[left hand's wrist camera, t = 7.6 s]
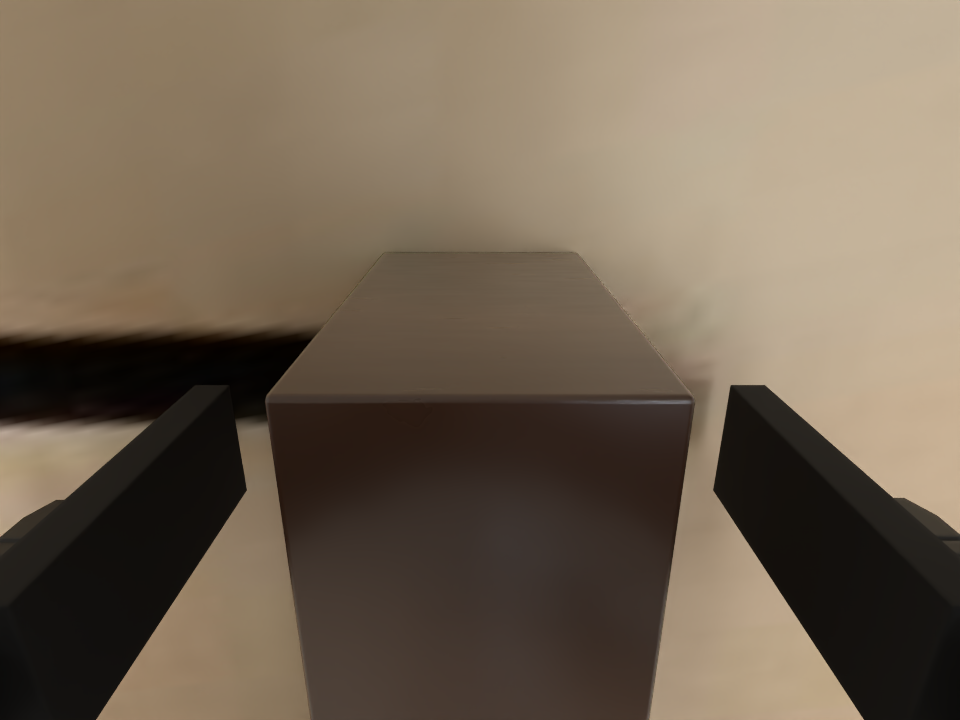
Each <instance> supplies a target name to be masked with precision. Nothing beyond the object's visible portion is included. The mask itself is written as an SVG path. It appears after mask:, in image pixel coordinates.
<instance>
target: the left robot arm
mask: <svg viewBox="0 0 960 720" xmlns="http://www.w3.org/2000/svg"><path fill="white" fill-rule="evenodd" d="M246 491H247V489H246V483H245V477H244V471H243V465H242V459H241V453H240V447H239V441H238V435H237V429H236V423H235V417H234V411H233V404H232V398H231V392H230V386H229V385H195V386H194V387H193V388H192V389H190V390H189V391H188V392H187V393H186V394H185V395H184V396H182V397H181V398H180V399H179V400H178V401H177V402H176V403H174V404H173V405H172V406H171V407H170V408H169V409H168V410H166V411H165V412H164V413H163V414H162V415H161V416H160V417H159V418H157V419H156V420H155V421H154V422H153V423H152V424H151V425H149V426H148V427H147V428H146V429H145V430H144V431H143V432H141V433H140V434H139V435H138V436H137V437H136V438H135V439H133V440H132V441H131V442H130V443H129V444H128V445H127V446H126V447H124V448H123V449H122V450H121V451H120V452H119V453H118V454H116V455H115V456H114V457H113V458H112V459H111V460H110V461H108V462H107V463H106V464H105V465H104V466H103V467H102V468H100V469H99V470H98V471H97V472H96V473H95V474H94V475H93V476H91V477H90V478H89V479H88V480H87V481H86V482H85V483H83V484H82V485H81V486H80V487H79V488H78V489H77V490H75V491H74V492H73V493H72V494H71V495H70V496H69V497H67V498H66V499H65V500H55V501H54V502H52V503H50V504H48V505H46V506H44V507H43V508H41V509H39V510H37V511H35V512H33V513H31V514H30V515H28V516H26V517H24V518H23V519H21V520H20V521H19V522H18V523H17V524H15V525H14V526H13V527H12V528H11V529H9V530H8V531H7V532H6V533H5V534H3V535H2V536H1V537H0V720H96V719H97V717H98V716H99V714H100V713H101V711H102V710H103V708H104V707H105V705H106V704H107V702H108V701H109V699H110V698H111V696H112V695H113V693H114V691H115V690H116V688H117V687H118V685H119V684H120V682H121V681H122V679H123V678H124V676H125V675H126V673H127V672H128V670H129V669H130V667H131V666H132V664H133V663H134V661H135V660H136V658H137V656H138V655H139V653H140V652H141V650H142V649H143V647H144V646H145V644H146V643H147V641H148V640H149V638H150V637H151V635H152V634H153V632H154V631H155V629H156V628H157V626H158V624H159V623H160V621H161V620H162V618H163V617H164V615H165V614H166V612H167V611H168V609H169V608H170V606H171V605H172V603H173V602H174V600H175V599H176V597H177V596H178V594H179V593H180V591H181V589H182V588H183V586H184V585H185V583H186V582H187V580H188V579H189V577H190V576H191V574H192V573H193V571H194V570H195V568H196V567H197V565H198V564H199V562H200V561H201V559H202V558H203V556H204V554H205V553H206V551H207V550H208V548H209V547H210V545H211V544H212V542H213V541H214V539H215V538H216V536H217V535H218V533H219V532H220V530H221V529H222V527H223V526H224V524H225V523H226V521H227V519H228V518H229V516H230V515H231V513H232V512H233V510H234V509H235V507H236V506H237V504H238V503H239V501H240V500H241V498H242V497H243V495H244V494H245V492H246ZM713 491H714V492H715V494H716V495H717V497H718V498H719V500H720V501H721V503H722V504H723V506H724V507H725V509H726V510H727V512H728V513H729V515H730V516H731V518H732V519H733V521H734V522H735V524H736V526H737V527H738V529H739V530H740V532H741V533H742V535H743V536H744V538H745V539H746V541H747V542H748V544H749V545H750V547H751V548H752V550H753V551H754V553H755V554H756V556H757V557H758V559H759V561H760V562H761V564H762V565H763V567H764V568H765V570H766V571H767V573H768V574H769V576H770V577H771V579H772V580H773V582H774V583H775V585H776V586H777V588H778V589H779V591H780V593H781V594H782V596H783V597H784V599H785V600H786V602H787V603H788V605H789V606H790V608H791V609H792V611H793V612H794V614H795V615H796V617H797V618H798V620H799V621H800V623H801V624H802V626H803V628H804V629H805V631H806V632H807V634H808V635H809V637H810V638H811V640H812V641H813V643H814V644H815V646H816V647H817V649H818V650H819V652H820V653H821V655H822V656H823V658H824V659H825V661H826V663H827V664H828V666H829V667H830V669H831V670H832V672H833V673H834V675H835V676H836V678H837V679H838V681H839V682H840V684H841V685H842V687H843V688H844V690H845V691H846V693H847V694H848V696H849V698H850V699H851V701H852V702H853V704H854V705H855V707H856V708H857V710H858V711H859V713H860V714H861V716H862V717H863V719H864V720H960V534H959V533H957V532H956V531H955V530H954V529H953V528H951V527H950V526H949V525H948V524H947V523H945V522H944V521H943V520H942V519H941V518H939V517H938V516H937V515H935V514H933V513H931V512H929V511H927V510H926V509H924V508H922V507H920V506H918V505H916V504H914V503H913V502H911V501H909V500H907V499H905V498H893V497H891V496H890V495H889V494H888V493H887V492H886V491H885V490H883V489H882V488H881V487H880V486H879V485H878V484H877V483H875V482H874V481H873V480H872V479H871V478H870V477H869V476H868V475H866V474H865V473H864V472H863V471H862V470H861V469H860V468H858V467H857V466H856V465H855V464H854V463H853V462H852V461H850V460H849V459H848V458H847V457H846V456H845V455H844V454H842V453H841V452H840V451H839V450H838V449H837V448H836V447H834V446H833V445H832V444H831V443H830V442H829V441H828V440H827V439H825V438H824V437H823V436H822V435H821V434H820V433H819V432H817V431H816V430H815V429H814V428H813V427H812V426H811V425H809V424H808V423H807V422H806V421H805V420H804V419H803V418H801V417H800V416H799V415H798V414H797V413H796V412H795V411H794V410H792V409H791V408H790V407H789V406H788V405H787V404H786V403H784V402H783V401H782V400H781V399H780V398H779V397H778V396H776V395H775V394H774V393H773V392H772V391H771V390H770V389H768V388H767V387H766V386H765V385H731V386H730V392H729V399H728V405H727V411H726V417H725V423H724V429H723V435H722V441H721V447H720V453H719V459H718V465H717V471H716V477H715V483H714V489H713Z"/></svg>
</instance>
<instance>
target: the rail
mask: <svg viewBox="0 0 960 720" xmlns="http://www.w3.org/2000/svg"><path fill="white" fill-rule="evenodd" d="M265 404H266V411H267V418H268V425H269V432H270V439H271V446H272V453H273V459H274V466H275V473H276V480H277V487H278V494H279V501H280V508H281V515H282V522H283V529H284V536H285V543H286V550H287V557H288V564H289V571H290V578H291V585H292V592H293V599H294V606H295V612H296V619H297V626H298V633H299V640H300V647H301V654H302V661H303V668H304V675H305V682H306V689H307V696H308V703H309V710H310V717H311V720H649V717H650V710H651V703H652V696H653V689H654V682H655V675H656V668H657V661H658V654H659V648H660V641H661V634H662V627H663V620H664V613H665V606H666V599H667V592H668V585H669V578H670V571H671V564H672V557H673V550H674V544H675V537H676V530H677V523H678V516H679V509H680V502H681V495H682V488H683V481H684V474H685V467H686V460H687V453H688V447H689V440H690V433H691V426H692V419H693V412H694V405H695V399H694V396H693V395H692V393H691V392H690V391H689V390H688V388H687V387H686V386H685V385H684V383H683V382H682V381H681V380H680V379H679V377H678V376H677V375H676V374H675V372H674V371H673V370H672V369H671V367H670V366H669V365H668V364H667V363H666V361H665V360H664V359H663V358H662V356H661V355H660V354H659V353H658V351H657V350H656V349H655V348H654V347H653V345H652V344H651V343H650V342H649V340H648V339H647V338H646V337H645V336H644V334H643V333H642V332H641V331H640V329H639V328H638V327H637V326H636V324H635V323H634V322H633V321H632V320H631V318H630V317H629V316H628V315H627V313H626V312H625V311H624V310H623V308H622V307H621V306H620V305H619V304H618V302H617V301H616V300H615V299H614V297H613V296H612V295H611V294H610V292H609V291H608V290H607V289H606V288H605V286H604V285H603V284H602V283H601V281H600V280H599V279H598V278H597V276H596V275H595V274H594V273H593V272H592V270H591V269H590V268H589V267H588V265H587V264H586V263H585V262H584V260H583V259H582V258H581V257H580V256H579V254H578V253H527V252H386V253H383V254H382V256H381V257H380V258H379V259H378V260H377V262H376V263H375V264H374V265H373V267H372V268H371V269H370V270H369V271H368V273H367V274H366V275H365V276H364V277H363V279H362V280H361V281H360V282H359V284H358V285H357V286H356V287H355V288H354V290H353V291H352V292H351V293H350V295H349V296H348V297H347V298H346V299H345V301H344V302H343V303H342V304H341V305H340V307H339V308H338V309H337V310H336V312H335V313H334V314H333V315H332V316H331V318H330V319H329V320H328V321H327V323H326V324H325V325H324V326H323V327H322V329H321V330H320V331H319V332H318V333H317V335H316V336H315V337H314V338H313V340H312V341H311V342H310V343H309V344H308V346H307V347H306V348H305V349H304V351H303V352H302V353H301V354H300V355H299V357H298V358H297V359H296V360H295V361H294V363H293V364H292V365H291V366H290V368H289V369H288V370H287V371H286V372H285V374H284V375H283V376H282V377H281V379H280V380H279V381H278V382H277V383H276V385H275V386H274V387H273V388H272V389H271V391H270V392H269V393H268V394H267V396H266V399H265Z"/></svg>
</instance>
